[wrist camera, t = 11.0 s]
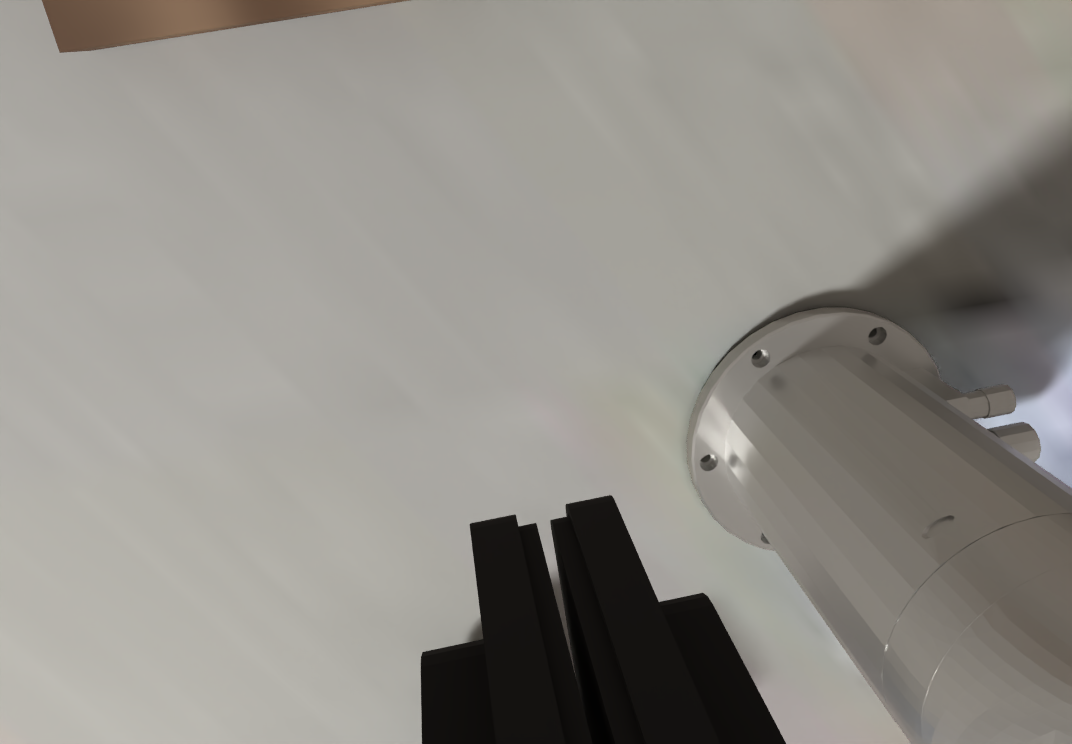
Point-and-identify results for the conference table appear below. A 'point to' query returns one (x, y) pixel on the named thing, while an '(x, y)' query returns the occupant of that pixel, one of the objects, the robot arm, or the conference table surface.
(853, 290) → the conference table surface
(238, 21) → the deck
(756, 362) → the robot arm
